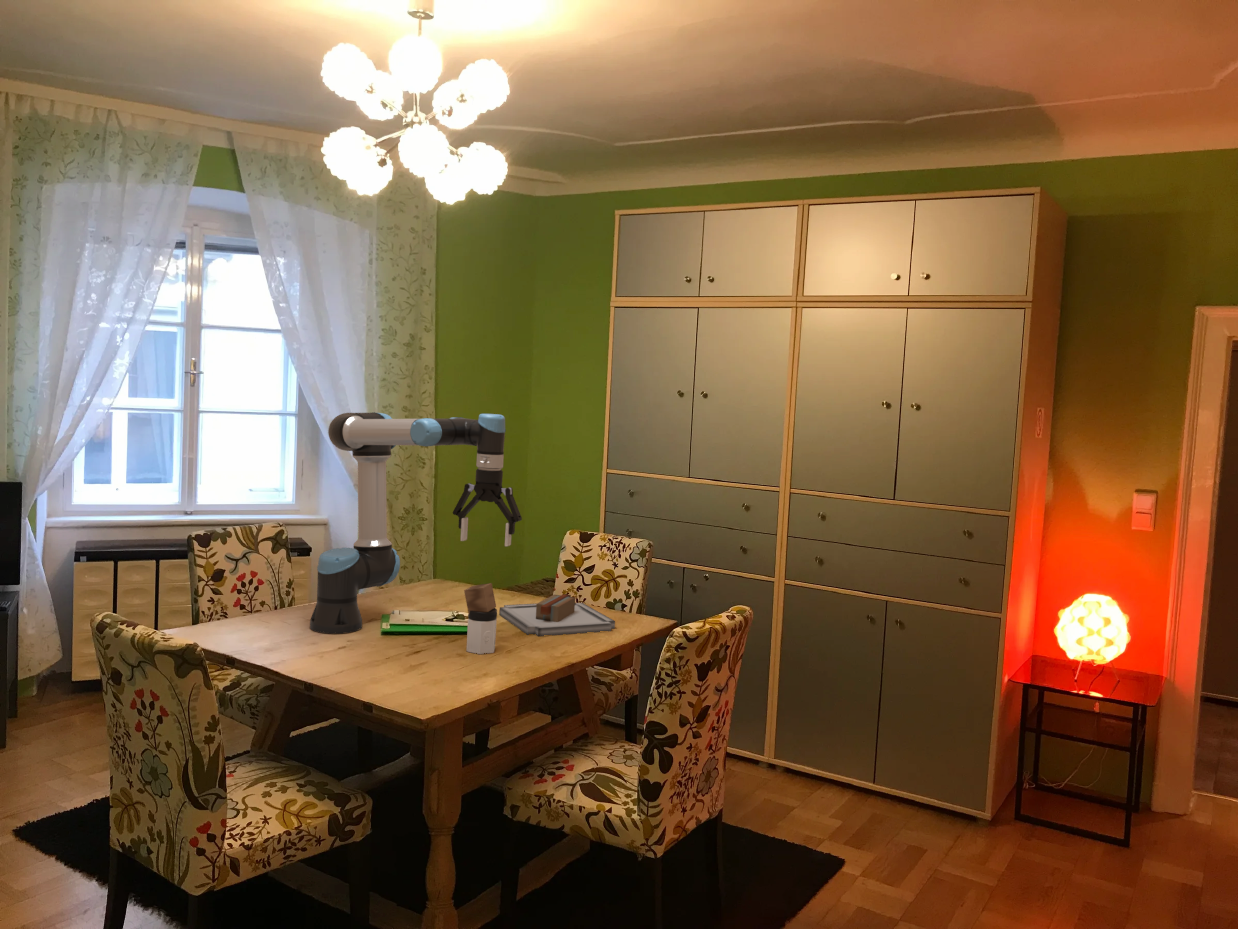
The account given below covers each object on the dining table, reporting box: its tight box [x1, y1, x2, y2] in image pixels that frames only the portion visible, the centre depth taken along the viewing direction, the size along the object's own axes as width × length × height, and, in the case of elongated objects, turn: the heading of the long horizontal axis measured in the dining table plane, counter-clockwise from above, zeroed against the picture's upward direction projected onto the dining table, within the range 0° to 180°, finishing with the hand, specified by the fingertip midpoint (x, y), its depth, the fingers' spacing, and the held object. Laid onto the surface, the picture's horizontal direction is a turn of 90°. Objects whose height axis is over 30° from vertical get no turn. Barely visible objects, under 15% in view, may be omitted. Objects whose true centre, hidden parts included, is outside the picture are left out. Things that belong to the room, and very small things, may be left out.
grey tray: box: [498, 593, 616, 637], centre depth 319 cm, size 30×30×8 cm
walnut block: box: [463, 582, 497, 614], centre depth 281 cm, size 6×6×7 cm
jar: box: [466, 607, 498, 655], centre depth 282 cm, size 9×8×12 cm
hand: (485, 543), depth 280 cm, fingers open, 13 cm apart
